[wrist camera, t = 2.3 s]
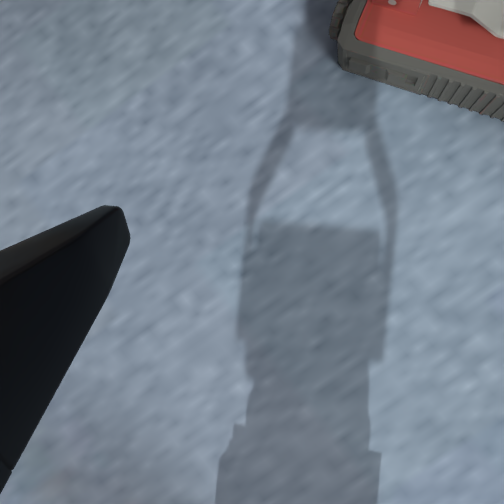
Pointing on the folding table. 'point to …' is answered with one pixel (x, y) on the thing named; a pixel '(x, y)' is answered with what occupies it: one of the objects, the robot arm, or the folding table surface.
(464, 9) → the walkie-talkie
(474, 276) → the folding table surface
